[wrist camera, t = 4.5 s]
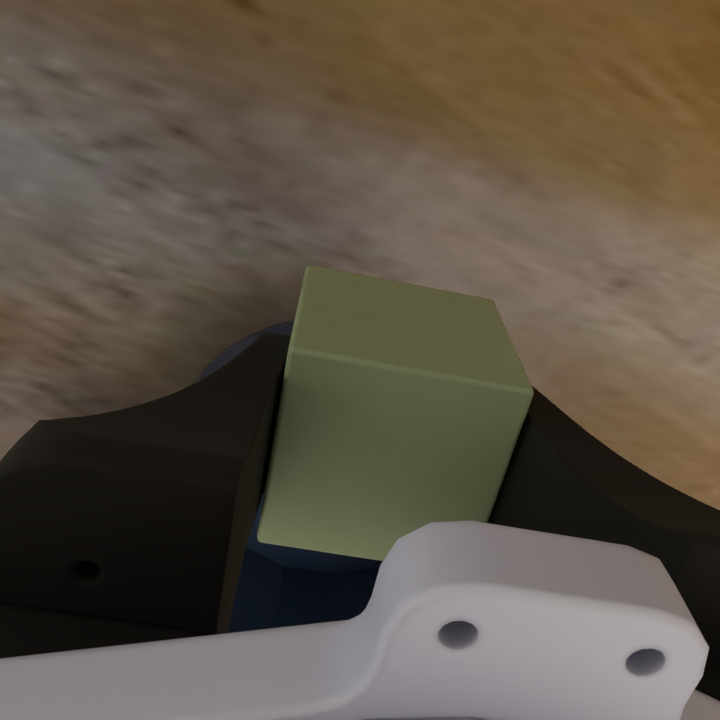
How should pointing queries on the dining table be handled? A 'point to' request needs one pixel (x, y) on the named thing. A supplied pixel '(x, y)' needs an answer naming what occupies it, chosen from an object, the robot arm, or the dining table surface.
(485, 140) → the dining table surface
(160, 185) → the dining table surface
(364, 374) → the block
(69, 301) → the dining table surface
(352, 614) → the pot
